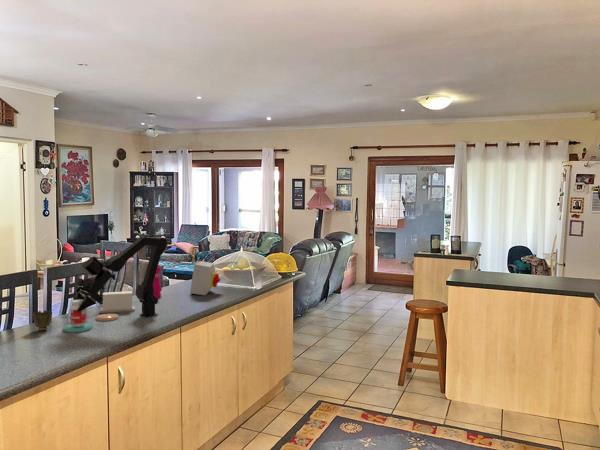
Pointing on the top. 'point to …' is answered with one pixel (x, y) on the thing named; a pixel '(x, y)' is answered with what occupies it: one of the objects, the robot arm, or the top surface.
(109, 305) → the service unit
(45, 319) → the cup
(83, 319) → the pill bottle
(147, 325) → the top surface
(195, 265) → the electrical switch box
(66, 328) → the teal plate
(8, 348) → the top surface
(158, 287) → the pepper mill
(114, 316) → the terracotta plate
